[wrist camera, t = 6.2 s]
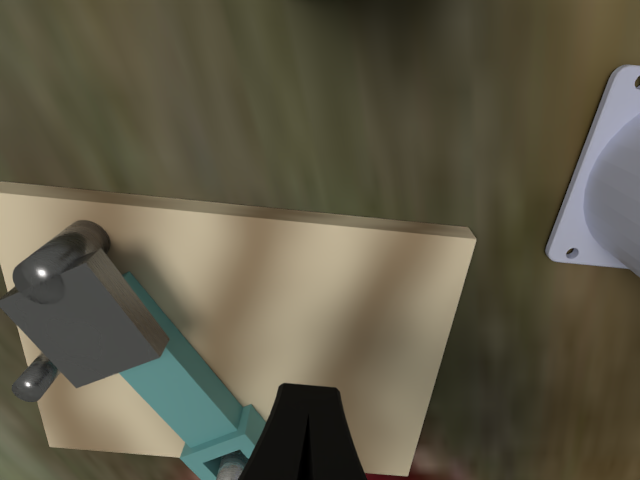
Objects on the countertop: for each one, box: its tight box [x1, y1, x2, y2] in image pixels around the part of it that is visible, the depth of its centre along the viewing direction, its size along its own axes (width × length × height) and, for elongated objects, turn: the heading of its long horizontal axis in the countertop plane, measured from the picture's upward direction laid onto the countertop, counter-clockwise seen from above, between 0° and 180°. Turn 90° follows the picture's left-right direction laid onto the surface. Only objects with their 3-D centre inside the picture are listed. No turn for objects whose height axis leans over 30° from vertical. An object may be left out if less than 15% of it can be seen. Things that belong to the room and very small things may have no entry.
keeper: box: [0, 220, 170, 402], centre depth 18 cm, size 6×7×5 cm
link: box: [119, 271, 266, 480], centre depth 20 cm, size 13×4×2 cm, turn 28°
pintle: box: [216, 450, 249, 480], centre depth 22 cm, size 1×1×3 cm
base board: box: [0, 181, 477, 476], centre depth 21 cm, size 20×15×1 cm
